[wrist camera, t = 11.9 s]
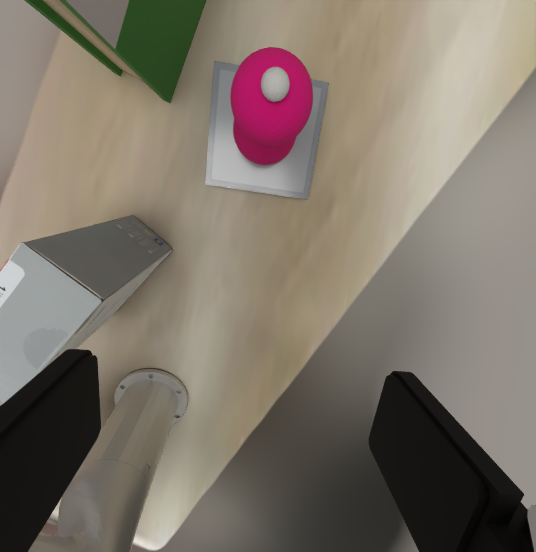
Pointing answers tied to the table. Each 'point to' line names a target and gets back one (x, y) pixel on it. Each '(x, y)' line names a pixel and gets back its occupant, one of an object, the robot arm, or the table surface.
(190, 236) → the table surface
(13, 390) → the hard drive box
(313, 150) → the slate stand
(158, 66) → the hardback book
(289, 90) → the pepper mill
